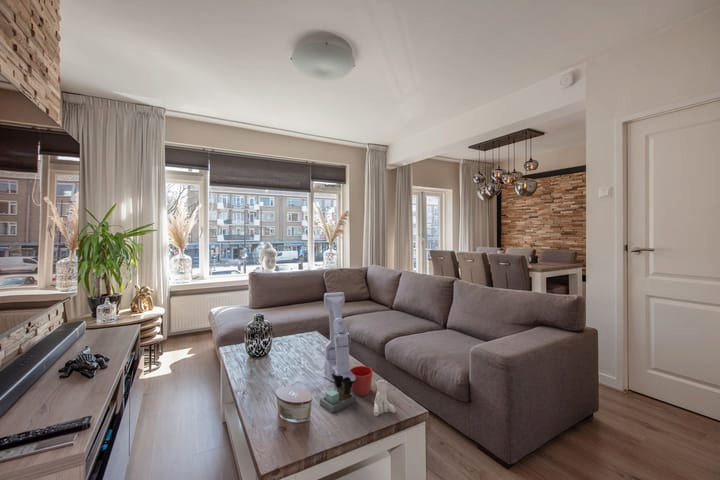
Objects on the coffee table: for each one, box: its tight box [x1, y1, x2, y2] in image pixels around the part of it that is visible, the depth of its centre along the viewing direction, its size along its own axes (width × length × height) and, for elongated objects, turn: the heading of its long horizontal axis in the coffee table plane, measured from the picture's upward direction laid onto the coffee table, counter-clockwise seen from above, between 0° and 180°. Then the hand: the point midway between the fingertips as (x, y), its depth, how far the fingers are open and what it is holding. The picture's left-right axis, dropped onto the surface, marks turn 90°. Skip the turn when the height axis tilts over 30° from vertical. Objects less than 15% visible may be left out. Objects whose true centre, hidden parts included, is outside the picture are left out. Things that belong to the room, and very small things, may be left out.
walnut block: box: [336, 384, 350, 401], centre depth 138 cm, size 4×4×5 cm
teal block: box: [325, 389, 339, 405], centre depth 134 cm, size 4×4×5 cm
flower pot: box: [349, 365, 373, 396], centre depth 145 cm, size 11×11×10 cm
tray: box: [319, 392, 357, 414], centre depth 136 cm, size 9×13×2 cm
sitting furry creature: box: [373, 379, 397, 417], centre depth 130 cm, size 10×9×12 cm
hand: (343, 391), depth 138 cm, fingers open, 5 cm apart
